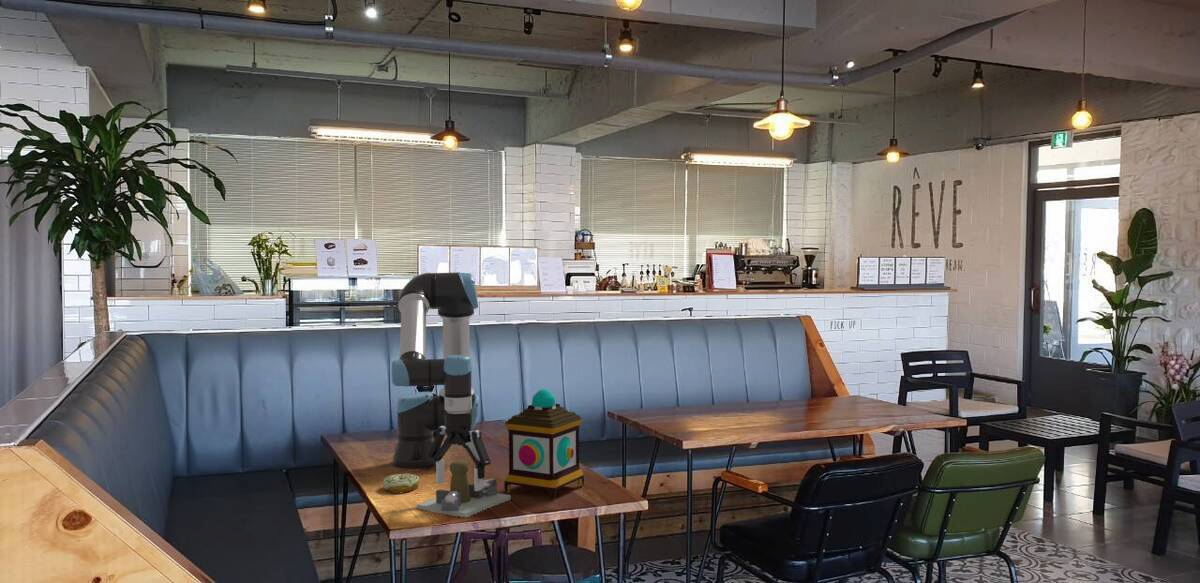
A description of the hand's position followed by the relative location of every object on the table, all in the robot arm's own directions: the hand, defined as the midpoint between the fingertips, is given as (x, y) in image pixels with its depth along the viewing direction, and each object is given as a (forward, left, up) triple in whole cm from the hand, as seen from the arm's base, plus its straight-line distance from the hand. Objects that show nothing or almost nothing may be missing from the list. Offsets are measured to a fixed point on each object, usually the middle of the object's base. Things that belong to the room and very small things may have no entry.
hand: (459, 486), depth 246 cm
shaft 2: (+3, +8, -4) cm, 9 cm away
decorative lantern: (+12, +24, -5) cm, 28 cm away
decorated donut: (-26, +4, -5) cm, 27 cm away
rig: (+1, +1, -5) cm, 5 cm away
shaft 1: (+3, -7, -4) cm, 9 cm away
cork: (0, 0, -4) cm, 4 cm away
